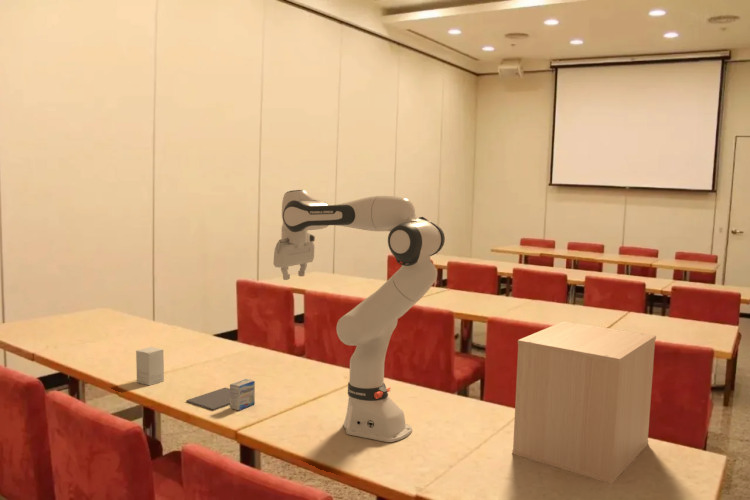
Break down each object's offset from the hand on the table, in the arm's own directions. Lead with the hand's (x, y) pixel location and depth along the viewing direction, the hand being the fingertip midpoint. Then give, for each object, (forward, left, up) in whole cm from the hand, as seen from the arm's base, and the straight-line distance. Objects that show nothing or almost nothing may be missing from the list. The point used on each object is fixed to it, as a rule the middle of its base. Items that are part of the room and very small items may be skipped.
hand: (294, 277), depth 221 cm
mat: (+24, +11, -45) cm, 53 cm away
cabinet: (-93, -27, -46) cm, 107 cm away
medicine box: (+13, +11, -46) cm, 49 cm away
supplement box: (+60, +14, -46) cm, 77 cm away
